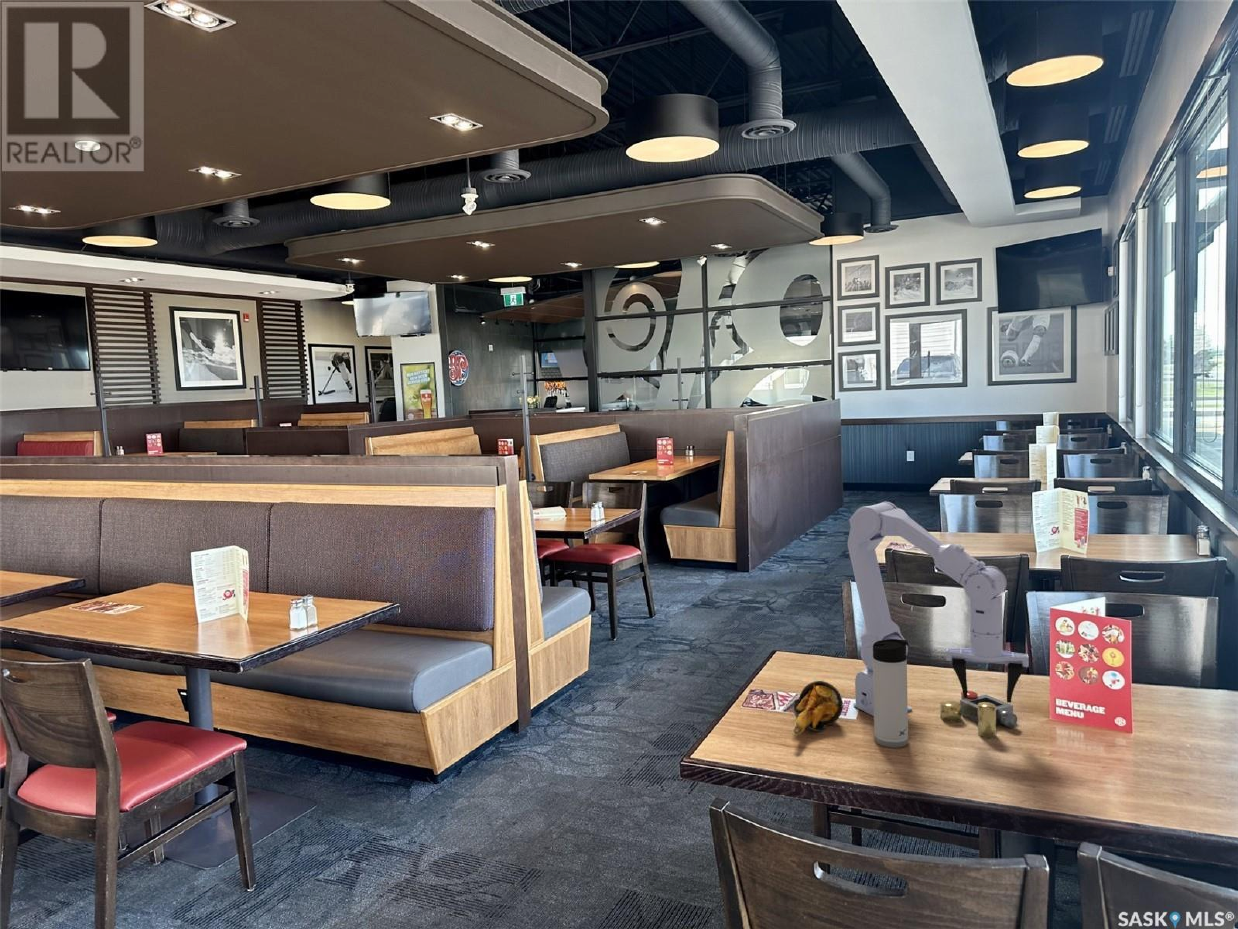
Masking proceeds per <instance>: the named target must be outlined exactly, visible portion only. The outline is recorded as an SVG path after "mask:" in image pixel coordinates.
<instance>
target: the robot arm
mask: <svg viewBox="0 0 1238 929" xmlns="http://www.w3.org/2000/svg"><path fill="white" fill-rule="evenodd" d="M848 521H849V525H850V526H849V527H850V528H849V534H848V538H847V550H848V553H849V558H850V562H851V566H852V571H853V575H854V580H855V584H856V589H857V593H858V597H859V602H860V606H861V611H862V615H863V620H864V628H863V630H862V632H861V635H860V641H861V646H860V657H861V658H860V659H861V661H862V663H863V664H864V665H865V668H864V669H863V670H861V671H858V672H857V673H856V675H855V679H854V683H855V684H854V685H855V686H854V687H855V689H854V690H855V702H854V703H853V704H852V706H854V707H855V708H857V709H859V710H861V711H862V712H863V711H864V712H865V713H866V714H868V715H870V716H872V717H874V697H873V644H874V643H875V642H877V641H881V640H886V639H899V640H906V639H905V638H904V636H903V634H902V632H901V630H900V625H898V624H897V623H895V622H894V621H893V620H892V617H891V612H890V608H889V603H888V600H887V596H886V591H885V587H884V583H883V577H882V573H881V568H880V565H879V561H878V556H877V552H876V548H877V546H878V545H879V544H880V542H881V541H882V540H883V539H884V537H900V538H902V539H903V540H905V541H907V542H908V543H910V544H911V545H913V546H914V547H916V548H918V549H919V550H921V551H922V552H923V553H926V554H927V555H929V556H930V557H932V558H933V562H934V566H935V567H936V568H937V569H939V570H940V571H941V572H943V573H944V574H945V575H947V576H948V577H950V578H951V579H952V580H954V581H955V582H957V583H958V584H959V585H961V586H962V587H963V590H964V593H965V594H966V596H967V597H968V599H969V633H970V635H969V638H970V639H969V640H970V641H969V642H970V643H969V644H970V647H969V648H968V647H966V648H964V647H963V648H949V647H946V650H945V659H946V660H945V661H948V662H951V665H952V668H953V671H954V673H955V675H956V676H957V678H958V681H959V683H960V687H961V690H962V691H961V692H963V696H964V698H966V699H968V691H969V690H968V682H967V681H968V680H967V662H972V663H973V662H974V663H975V662H976V663H984V664H985V663H986V664H987V663H988V664H1001V665H1006V666H1007V668H1006V669H1007V671H1006V672H1007V674H1006V675H1007V684H1006V703H1008V704H1011V703H1012V699H1013V694H1014V690H1015V688H1016V685H1017V683H1018V681H1019V679H1020V677H1021V675H1022V673H1023V667H1024V668H1029V663H1030V662H1029V654H1028V653H1020V652H1013V651H1008V650H1004V648H1003V647H1004V646H1003V645H1004V644H1003V642H1004V641H1003V595H1002V594H1003V593H1004V592H1005V591H1006V589H1007V582H1008V581H1007V578H1006V576H1005V574H1004V573H1003V572H1002V571H1001V570H1000V569H999V567H997V566H994V565H986V562H984V561H982V560H980V561H979V560H977V558H975V557H974V556H972V555H970V554H969V553H967V552H966V551H965V550H966V548H965V547H964V546H962V545H961V544H957V545H956V544H954V543H948V544H944V543H943V542H942V541H940V539H938V538H937V537H935V536H934V535H933V534H931V533H930V532H929V531H927V530H926V529H925V528H924V527H923V526H921V525H920V524H919V523H917V521H915V520H913V519H912V518H911V517H910V516H909V514H907V513H906V511H905V510H904V509H902V508H900V507H897V506H896V505H895V504H894V503H892V502H890V501H882V502H879V503H876V504H873V505H868V506H867V505H866V506H862V507H859V508H857V509H856V510H855V512H853V514H852V515H851V516H850V518H849V520H848ZM908 652H909V646H907V645H906V656H908ZM912 710H913V707H912V706H910V705H908V712H909V711H912Z"/></svg>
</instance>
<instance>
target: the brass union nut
mask: <svg viewBox="0 0 1238 929" xmlns="http://www.w3.org/2000/svg"><path fill="white" fill-rule="evenodd" d="M939 705H940V707H939V709H940V712H939V714H940V719H941V720H943V721H944V722H950V723H958V722H961V721H962V715H961V704H960V702H957V701H955V700H954V701H953V700H943V701H940V704H939Z"/></svg>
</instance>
